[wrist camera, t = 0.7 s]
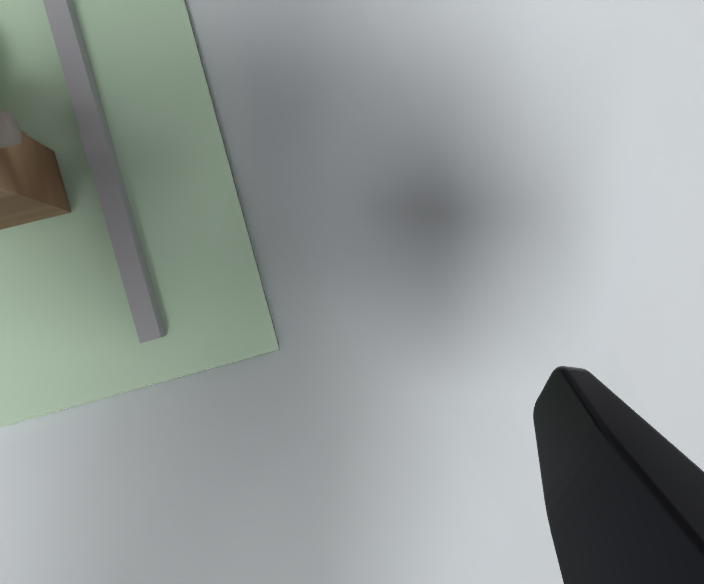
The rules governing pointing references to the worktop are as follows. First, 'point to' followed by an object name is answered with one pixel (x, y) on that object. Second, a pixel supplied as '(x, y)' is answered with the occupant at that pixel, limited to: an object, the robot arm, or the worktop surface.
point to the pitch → (120, 211)
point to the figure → (27, 178)
